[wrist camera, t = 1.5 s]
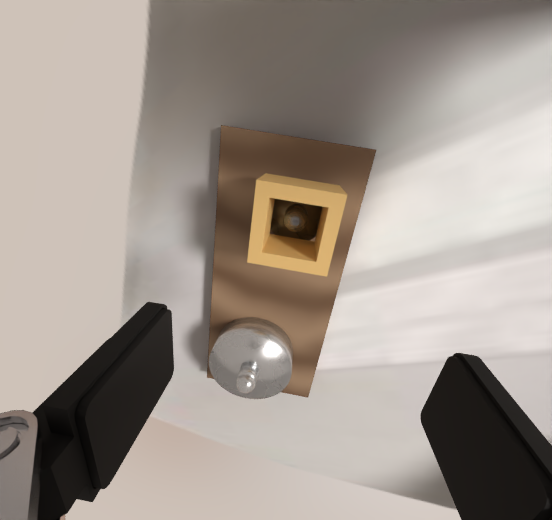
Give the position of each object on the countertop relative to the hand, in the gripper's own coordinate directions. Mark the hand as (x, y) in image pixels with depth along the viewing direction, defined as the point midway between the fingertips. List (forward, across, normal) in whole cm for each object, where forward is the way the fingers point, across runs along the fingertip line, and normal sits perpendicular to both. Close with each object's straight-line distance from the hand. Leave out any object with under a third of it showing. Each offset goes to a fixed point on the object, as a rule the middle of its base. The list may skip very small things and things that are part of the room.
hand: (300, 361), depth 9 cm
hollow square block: (+15, +1, -1) cm, 15 cm away
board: (+19, +2, +7) cm, 20 cm away
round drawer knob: (+17, +1, -1) cm, 17 cm away
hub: (+17, +3, +16) cm, 24 cm away
